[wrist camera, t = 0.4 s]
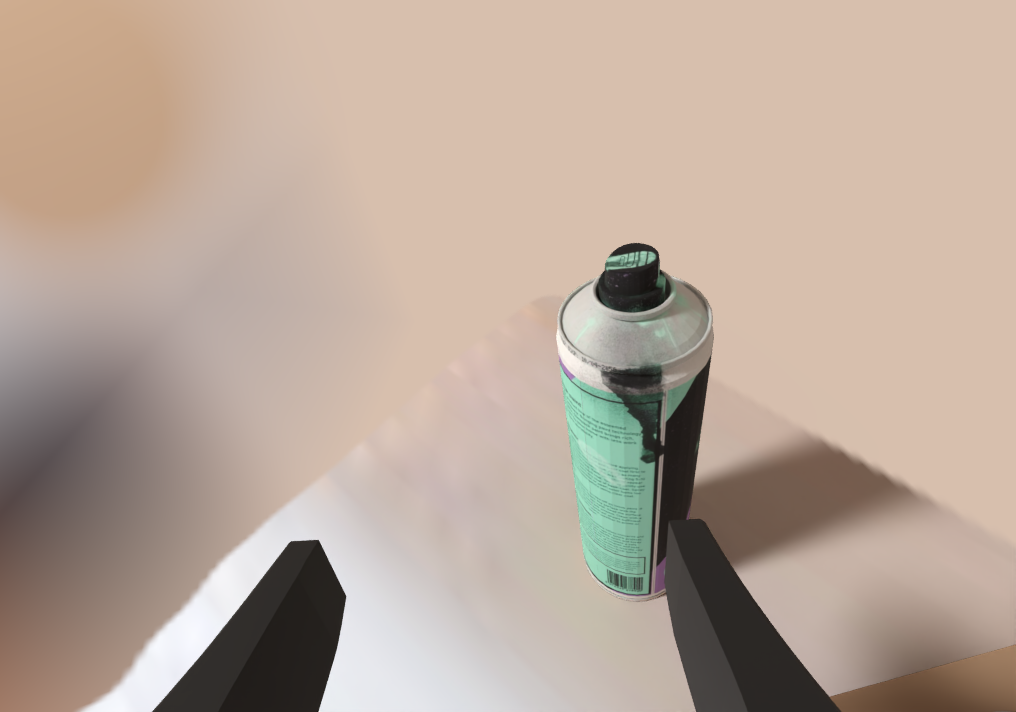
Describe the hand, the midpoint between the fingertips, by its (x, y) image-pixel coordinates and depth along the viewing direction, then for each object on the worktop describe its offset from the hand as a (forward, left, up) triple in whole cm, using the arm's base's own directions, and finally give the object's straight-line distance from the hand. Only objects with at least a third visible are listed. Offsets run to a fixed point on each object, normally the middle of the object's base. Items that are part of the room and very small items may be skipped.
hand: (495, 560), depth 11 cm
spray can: (+8, -6, -20) cm, 22 cm away
